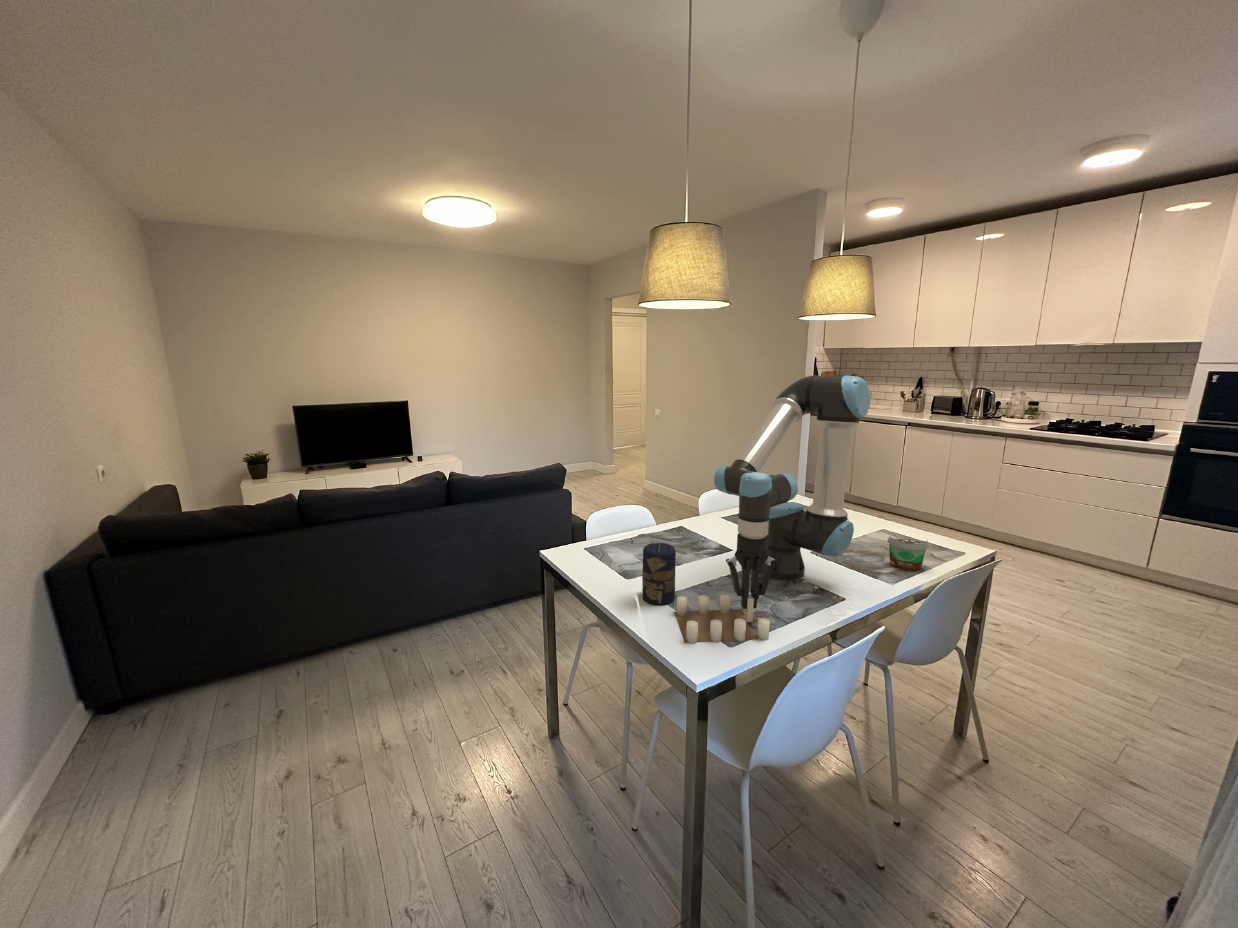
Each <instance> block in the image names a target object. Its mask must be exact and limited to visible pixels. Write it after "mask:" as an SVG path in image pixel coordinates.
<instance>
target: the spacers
mask: <svg viewBox="0 0 1238 928" xmlns="http://www.w3.org/2000/svg"><path fill="white" fill-rule="evenodd" d="M697 600H698V606H697V607H698V608H697V609H698V610H697V611H698V613H699V614H700V615H707V614H708V612H709V610H710V609H709V608H710V605H709V604H710V601H709V600H710V597H709V596H708V595H705V594H701V595H698V599H697ZM719 610H720V613H722V614H729V613H730V610H731V596H730V595H729V594H727V593H725V594H723V593H722V594H721V595H719ZM687 611H688V597H687V596H685V595H680V596H679V595H678V596H677V597H676V612H677V615H679V616H685V615H687ZM740 611H741V612H742V614H744V609H743V608H742V606H741V605H740ZM770 627H771V626H770V621H769V620H768V619H766V618H759V619H758V628H757V632H756V633H757V634H756V636H757V638H758V640H760V641H767V640H769V638H770ZM745 632H746V621H745V620H743V619H735V620H734V639H735V640H737V641H738V642H743V641H746V640H745ZM721 639H722V622H721V621H720V620H711V624H710V640H711V641H713V643H720V642H722V641H721ZM686 641H687V642H689V643H690V644H696V643H698V642H697V641H698V623H697V622H696V621H688V622H687V628H686ZM689 643H688V644H689Z"/></svg>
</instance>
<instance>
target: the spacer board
mask: <svg viewBox="0 0 1238 928" xmlns="http://www.w3.org/2000/svg"><path fill="white" fill-rule="evenodd" d="M673 614H674V616H675V620H676V623H677V625H678V627H679V631H680V633H681V636H682V638H683V641H684V644H689V642H687V641H686V628H687V622H688V621H696V622H697V623H698V641H697V642H696V643H711V642H713V641H711V640H710V624H711V620H720V621H721V622H722V639H721V641H720V642H732V641H733V642H735V641H737V640H735V639H734V620H735V619H743V620H745V618H744V613H743V612H741V608H740V609H738V608H736V609H730V613H729V614H722V613H720V609H715V610H711V609H709V612H708V614H707V615H700V614H699V613H698V610H689V611H688V610H687V615H685V616H679V615H677V611H673ZM745 621H746V620H745ZM752 628H753V627H752V626H751V624H750V623H749V622H747V621H746V632H745V640H744V641H755V640H758V641H759V638H758V637H757V634H756V633H755V632H754V630H753V629H752ZM713 643H714V642H713Z"/></svg>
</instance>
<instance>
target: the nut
mask: <svg viewBox="0 0 1238 928" xmlns="http://www.w3.org/2000/svg"><path fill="white" fill-rule="evenodd" d="M759 618H766V619H768V620H769V621H770V626H769V627H771V625H772V616H771V615H770V614H769V612H768V611H766V610H763V609H762V610H761V609H757V608H755V610H754V609H753V622H749V624H750V626H751V628H757V629H758V619H759Z"/></svg>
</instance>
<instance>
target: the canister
mask: <svg viewBox="0 0 1238 928" xmlns="http://www.w3.org/2000/svg"><path fill="white" fill-rule="evenodd" d="M676 555H677V552H676V549H675V547H674V546H673V545H671V544H669V543H666V542H651V543H648V544H646V545H645V546H643V548H642V574H641V575H642V576H641V579H642V581H641V582H642V588H641V589H642V593H641V594H642V600H643V602H645V603H646V604H649V605H650V606H659V607H660V606H667V605H670V604H672V603H674V601H675V597H676V596H675V595H676V566H677V565H676V562H677V561H676V560H677V558H676Z"/></svg>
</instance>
